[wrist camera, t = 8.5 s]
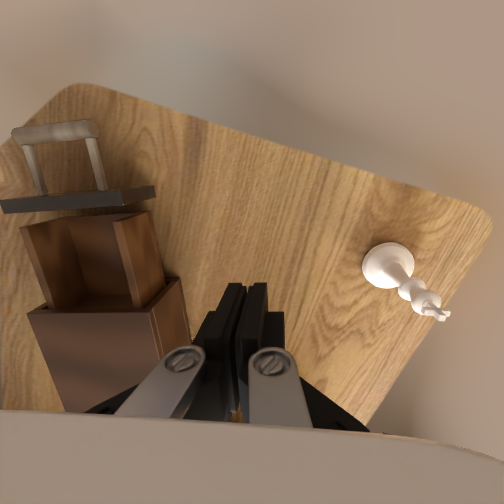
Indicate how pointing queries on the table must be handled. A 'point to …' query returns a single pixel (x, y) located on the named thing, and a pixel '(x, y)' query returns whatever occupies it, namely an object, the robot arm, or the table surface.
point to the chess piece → (401, 278)
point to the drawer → (88, 233)
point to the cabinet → (108, 345)
